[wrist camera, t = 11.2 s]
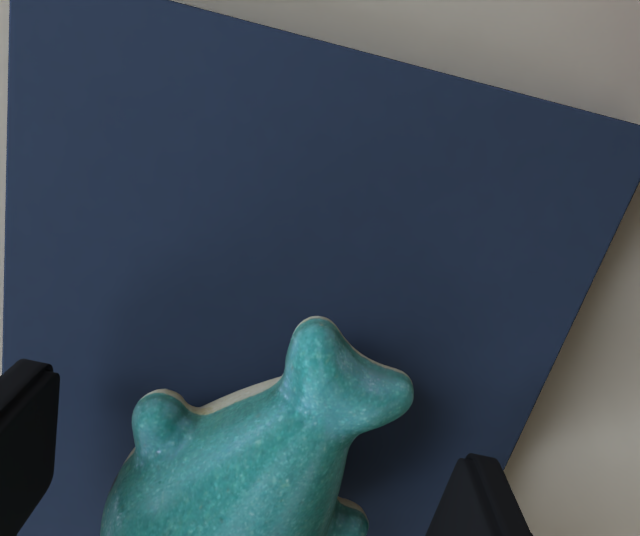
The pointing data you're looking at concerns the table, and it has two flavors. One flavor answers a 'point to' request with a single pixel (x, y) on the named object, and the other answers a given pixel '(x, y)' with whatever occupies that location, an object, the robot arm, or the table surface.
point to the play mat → (287, 235)
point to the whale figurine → (258, 448)
